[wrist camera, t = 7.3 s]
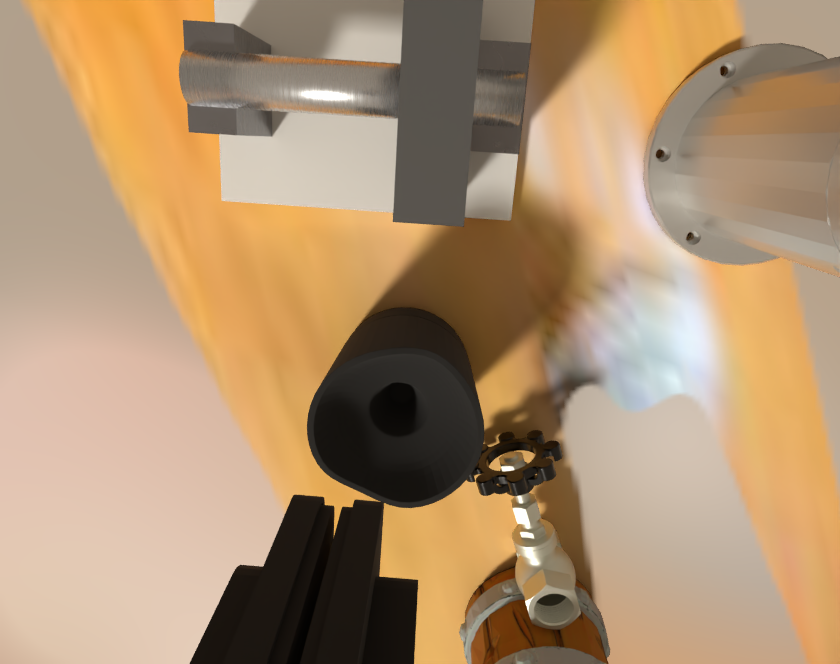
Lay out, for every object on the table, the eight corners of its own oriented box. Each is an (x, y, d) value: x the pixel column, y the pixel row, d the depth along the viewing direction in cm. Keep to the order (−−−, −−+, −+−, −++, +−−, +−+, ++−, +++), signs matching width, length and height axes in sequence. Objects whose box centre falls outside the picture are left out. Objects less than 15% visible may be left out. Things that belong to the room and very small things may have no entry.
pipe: (514, 61, 34) (535, 37, 26) (504, 152, 35) (522, 155, 28) (229, 42, 34) (170, 14, 26) (232, 134, 36) (177, 131, 28)
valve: (586, 556, 45) (550, 420, 42) (610, 623, 39) (569, 469, 36) (502, 575, 46) (460, 443, 43) (512, 643, 40) (464, 494, 36)
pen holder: (369, 443, 43) (349, 529, 33) (315, 328, 40) (277, 385, 31) (492, 402, 42) (508, 479, 32) (445, 279, 39) (447, 324, 29)
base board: (534, -13, 34) (537, -18, 33) (509, 218, 38) (511, 220, 36) (219, -33, 34) (212, -39, 33) (227, 199, 38) (221, 201, 37)
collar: (473, -5, 32) (489, -77, 22) (456, 201, 35) (463, 226, 25) (418, -9, 32) (407, -82, 22) (406, 198, 35) (392, 221, 25)
